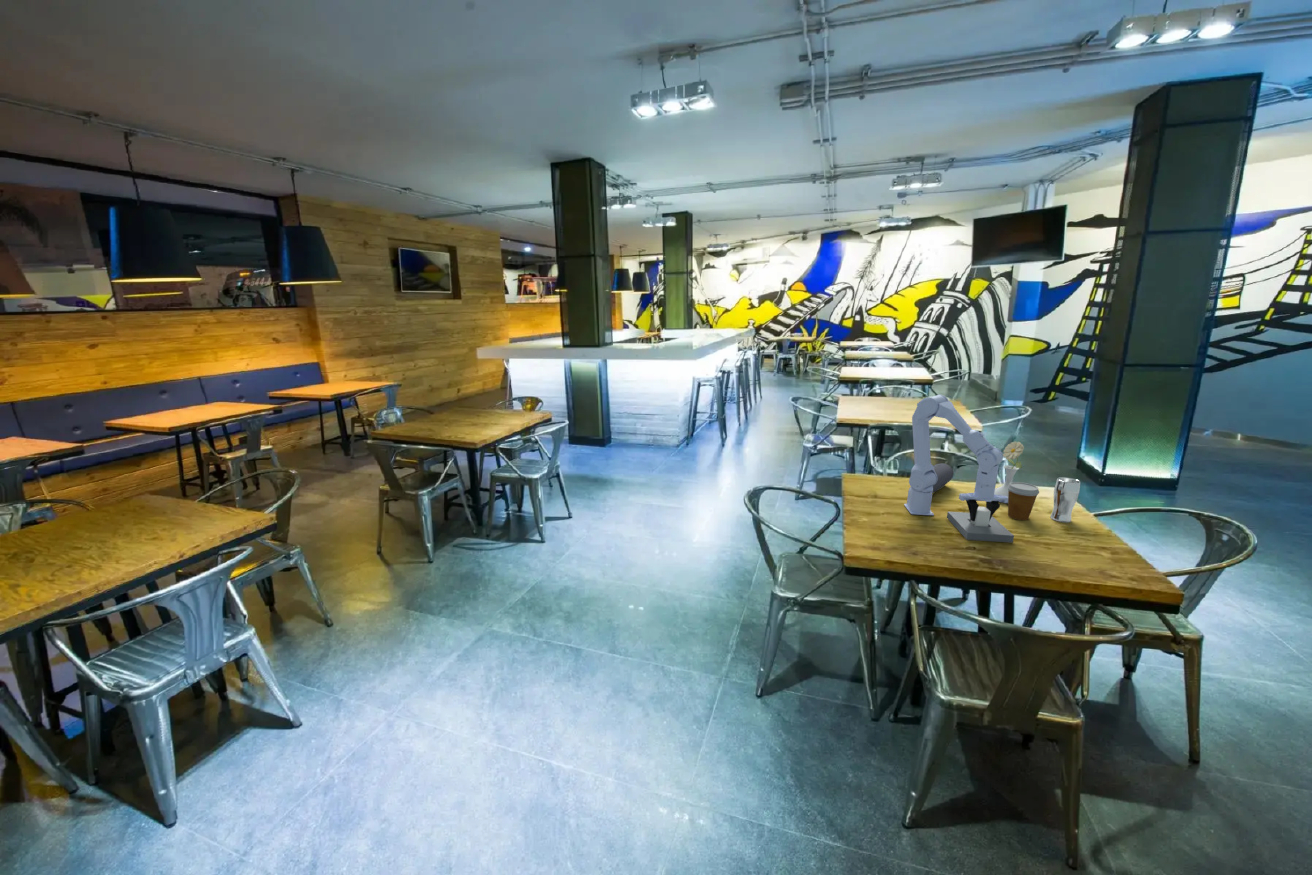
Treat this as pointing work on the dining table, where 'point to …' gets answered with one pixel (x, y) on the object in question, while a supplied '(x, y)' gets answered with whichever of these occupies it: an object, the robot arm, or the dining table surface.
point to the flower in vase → (1010, 452)
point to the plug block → (982, 517)
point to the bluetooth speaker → (942, 475)
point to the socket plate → (979, 528)
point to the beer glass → (1065, 498)
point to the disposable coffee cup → (1021, 500)
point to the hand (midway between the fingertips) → (979, 520)
